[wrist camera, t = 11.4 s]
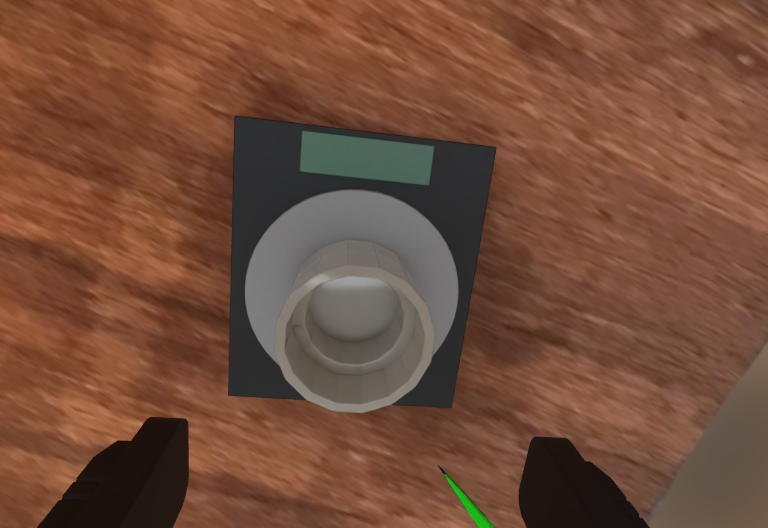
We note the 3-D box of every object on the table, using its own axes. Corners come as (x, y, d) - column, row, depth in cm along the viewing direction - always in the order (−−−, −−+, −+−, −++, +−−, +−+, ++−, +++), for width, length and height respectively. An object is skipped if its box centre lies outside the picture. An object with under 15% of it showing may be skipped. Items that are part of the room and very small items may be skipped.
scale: (247, 118, 22) (230, 114, 19) (481, 146, 23) (501, 146, 20) (239, 372, 25) (224, 402, 22) (442, 384, 26) (454, 415, 23)
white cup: (295, 231, 20) (278, 259, 15) (423, 243, 21) (445, 273, 16) (288, 349, 22) (270, 408, 17) (407, 357, 22) (423, 416, 17)
